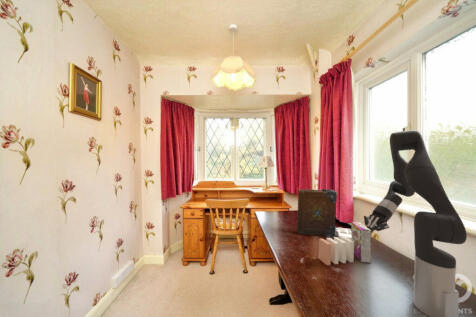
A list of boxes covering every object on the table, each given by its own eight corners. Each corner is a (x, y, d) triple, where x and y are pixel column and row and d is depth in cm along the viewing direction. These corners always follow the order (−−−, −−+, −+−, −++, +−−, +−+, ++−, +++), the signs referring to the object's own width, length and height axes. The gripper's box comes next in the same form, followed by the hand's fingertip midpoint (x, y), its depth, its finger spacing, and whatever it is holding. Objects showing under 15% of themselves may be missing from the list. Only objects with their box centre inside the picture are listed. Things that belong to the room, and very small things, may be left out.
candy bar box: (350, 250, 98) (350, 221, 98) (360, 251, 97) (360, 222, 97) (360, 262, 87) (360, 229, 87) (371, 263, 86) (371, 230, 86)
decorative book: (330, 232, 122) (331, 189, 122) (335, 237, 115) (337, 191, 115) (296, 230, 124) (297, 188, 123) (298, 235, 116) (300, 189, 116)
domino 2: (338, 263, 85) (339, 243, 85) (334, 264, 85) (335, 243, 85) (329, 256, 91) (329, 237, 91) (325, 257, 91) (326, 238, 91)
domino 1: (330, 264, 84) (331, 244, 84) (326, 265, 84) (327, 244, 84) (321, 257, 90) (322, 238, 90) (318, 258, 90) (319, 238, 89)
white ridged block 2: (345, 262, 86) (346, 242, 86) (342, 263, 86) (343, 242, 86) (336, 256, 92) (337, 237, 92) (333, 256, 92) (333, 237, 92)
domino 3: (353, 261, 87) (354, 241, 87) (350, 262, 87) (350, 242, 87) (343, 255, 93) (344, 236, 93) (340, 255, 93) (341, 236, 93)
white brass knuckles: (333, 238, 114) (329, 230, 128) (366, 243, 108) (358, 234, 122) (333, 233, 114) (329, 225, 128) (366, 238, 108) (358, 229, 122)
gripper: (369, 202, 101) (351, 224, 99) (394, 208, 89) (374, 234, 86) (376, 210, 103) (358, 233, 100) (402, 218, 90) (382, 244, 87)
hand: (366, 233), depth 93 cm, fingers closed
